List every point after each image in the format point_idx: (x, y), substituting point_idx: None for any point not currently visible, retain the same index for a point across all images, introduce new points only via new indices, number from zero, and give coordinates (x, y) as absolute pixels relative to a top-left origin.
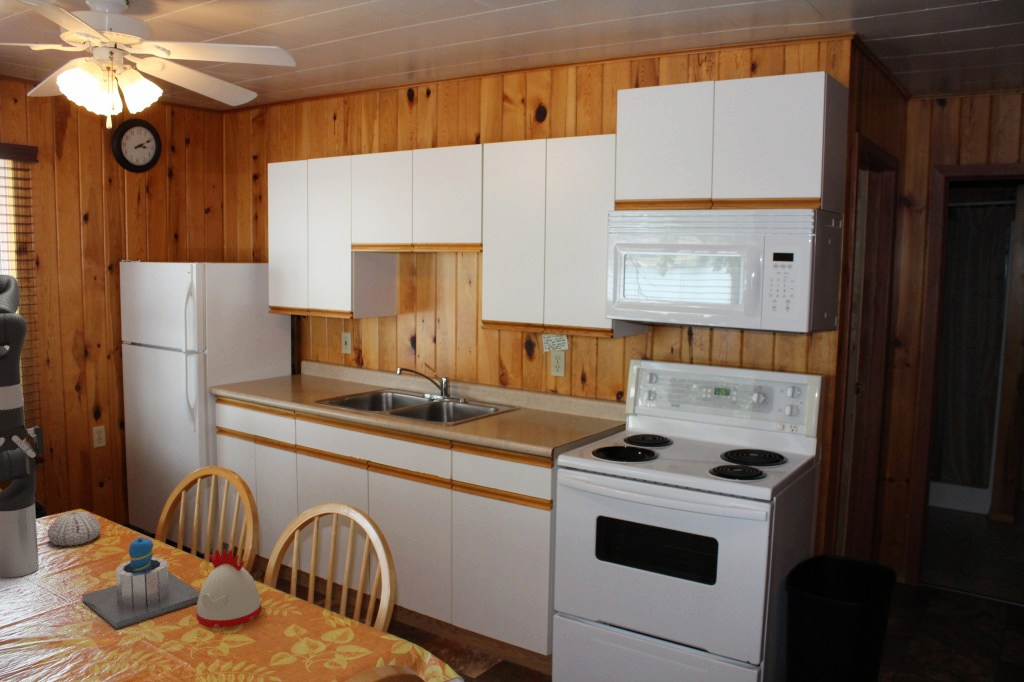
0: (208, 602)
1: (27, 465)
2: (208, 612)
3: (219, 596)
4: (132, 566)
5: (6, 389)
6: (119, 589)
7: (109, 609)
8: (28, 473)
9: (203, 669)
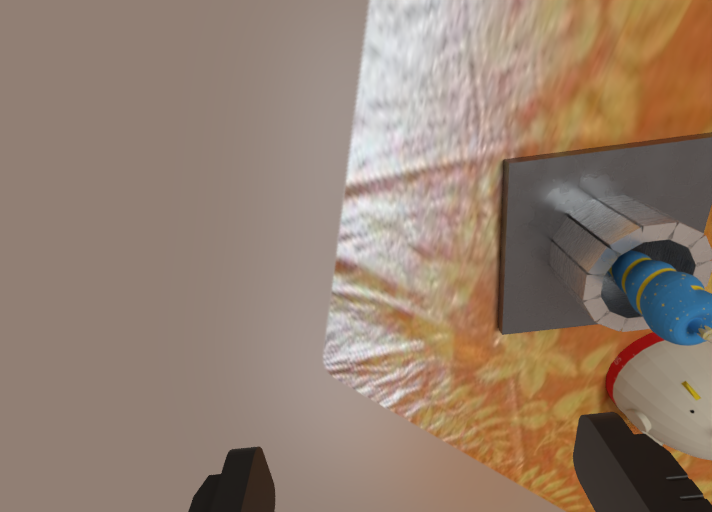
0: (635, 423)
1: (622, 509)
2: (623, 409)
3: (656, 438)
4: (626, 288)
5: None
6: (563, 270)
7: (518, 275)
8: (577, 445)
9: (527, 480)
